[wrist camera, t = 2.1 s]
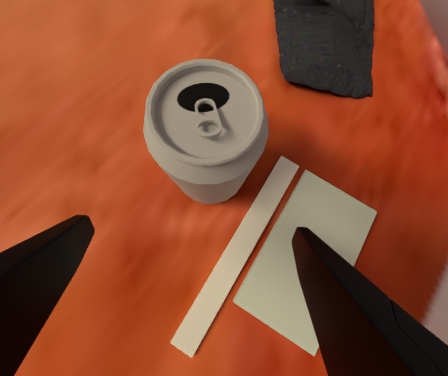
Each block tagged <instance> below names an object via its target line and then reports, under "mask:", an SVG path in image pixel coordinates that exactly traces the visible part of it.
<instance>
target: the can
mask: <svg viewBox="0 0 448 376" xmlns="http://www.w3.org/2000/svg"><path fill="white" fill-rule="evenodd" d="M143 133H144V136H145V140H146V144H147V147H148V150H149V152H150V153H151V155H152V156H153V157H154V159H155V160H156V162H157V163H158V165H159V166H160V167H161V168H162V169H163V170H164V171H165V172H166V173H167V174H168V176H169V177H170V178H171V179H172V180H173V181H174V182H175V183H176V184H177V185H178V186H179V187H180V188H181V189H182V190H183V192H184V193H185V194H186V195H188V196H189V197H191V198H192V199H193V200H195V201H198V202H201V203H204V204H217V203H220V202H223V201H227V200H228V199H229V198H231V197H232V196H234V195H235V194H236V193H237V191H238V190H239V189H240V187H241V186H242V184H243V183H244V181H245V180H246V178H247V176H248V175H249V173H250V172H251V170H252V169H253V167H254V166H255V164H256V162H257V161H258V159H259V158H260V156H261V155H262V153H263V151H264V149H265V145H266V142H267V138H268V135H269V129H268V116H267V113H266V111H265V108H264V101H263V99H262V96H261V94H260V92H259V89H258V87H257V86H256V84H255V83H254V82H253V81H252V80H251V79H250V77H249V76H248V75H247V74H246V73H244V72H243V71H241V70H240V69H238V68H236V67H235V66H233V65H231V64H228V63H225V62H221V61H218V60H212V59H196V60H192V61H187V62H183V63H180V64H178V65H176V66H174V67H173V68H171V69H169V70H167V71H166V72H165V73H164V74H163V75H162V76H161V77H160V78H159V79H158V80H157V81H156V82H155V83H154V84H153V86H152V88H151V91H150V93H149V95H148V97H147V99H146V110H145V118H144V129H143Z"/></svg>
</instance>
